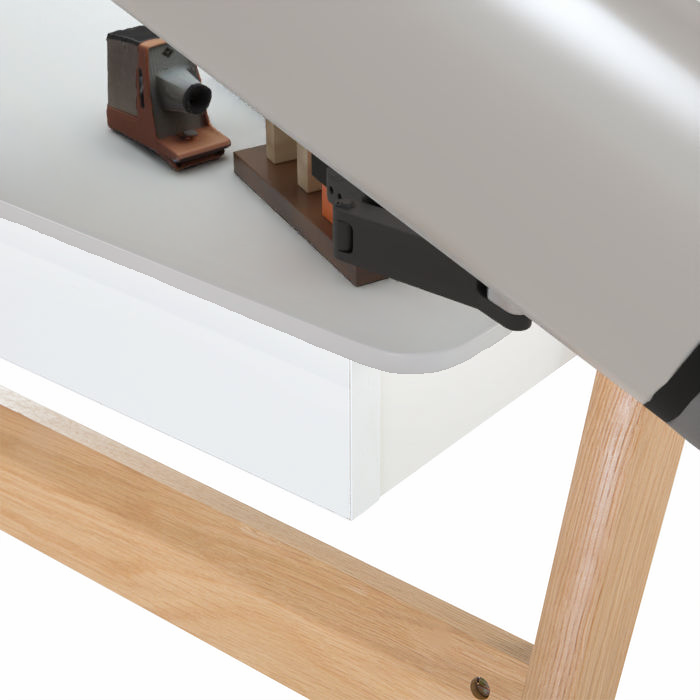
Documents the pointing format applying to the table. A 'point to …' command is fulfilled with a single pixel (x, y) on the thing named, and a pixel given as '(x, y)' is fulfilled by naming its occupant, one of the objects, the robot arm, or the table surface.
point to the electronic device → (160, 99)
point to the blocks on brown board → (293, 193)
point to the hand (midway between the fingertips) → (437, 120)
